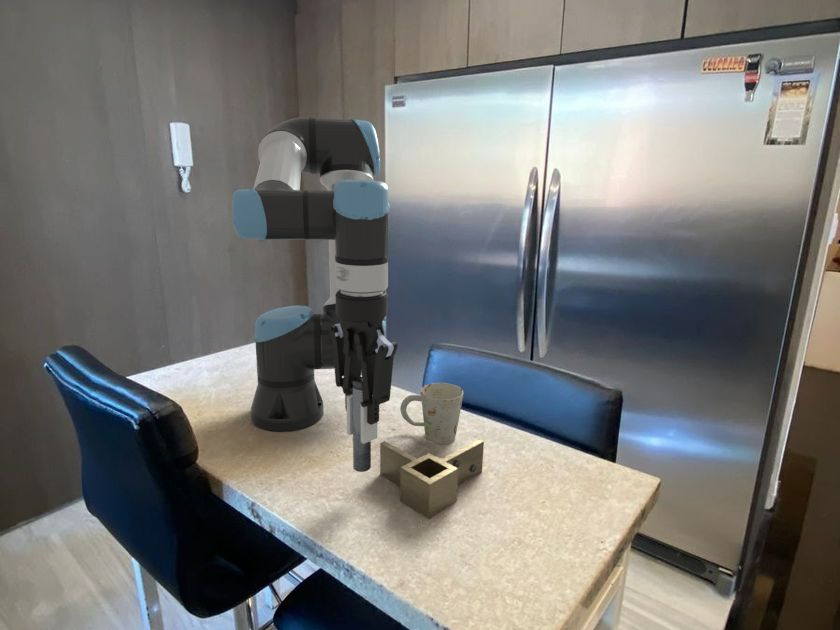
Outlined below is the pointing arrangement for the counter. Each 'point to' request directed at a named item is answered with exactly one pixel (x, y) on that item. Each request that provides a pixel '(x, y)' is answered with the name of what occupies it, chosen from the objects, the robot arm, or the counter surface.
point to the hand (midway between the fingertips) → (361, 435)
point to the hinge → (430, 475)
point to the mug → (437, 411)
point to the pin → (359, 430)
